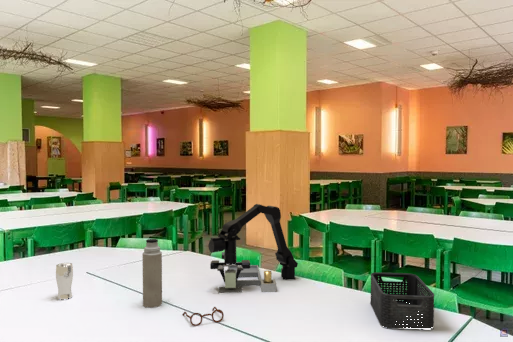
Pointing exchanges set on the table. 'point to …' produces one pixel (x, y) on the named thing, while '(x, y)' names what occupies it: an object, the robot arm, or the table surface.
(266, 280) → the rod
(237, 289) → the mat
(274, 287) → the grey square socket block
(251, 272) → the case
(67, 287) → the beer glass
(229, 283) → the module
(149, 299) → the thermos bottle
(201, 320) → the glasses
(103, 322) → the table surface
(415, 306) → the storage bin
